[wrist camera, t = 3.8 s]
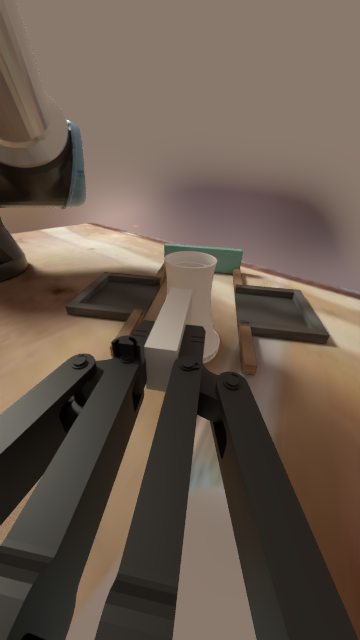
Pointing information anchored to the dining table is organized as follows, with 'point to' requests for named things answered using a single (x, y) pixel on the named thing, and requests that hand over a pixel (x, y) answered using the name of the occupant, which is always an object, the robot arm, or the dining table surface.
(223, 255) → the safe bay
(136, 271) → the dining table surface
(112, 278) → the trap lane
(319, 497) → the dining table surface
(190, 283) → the vase
